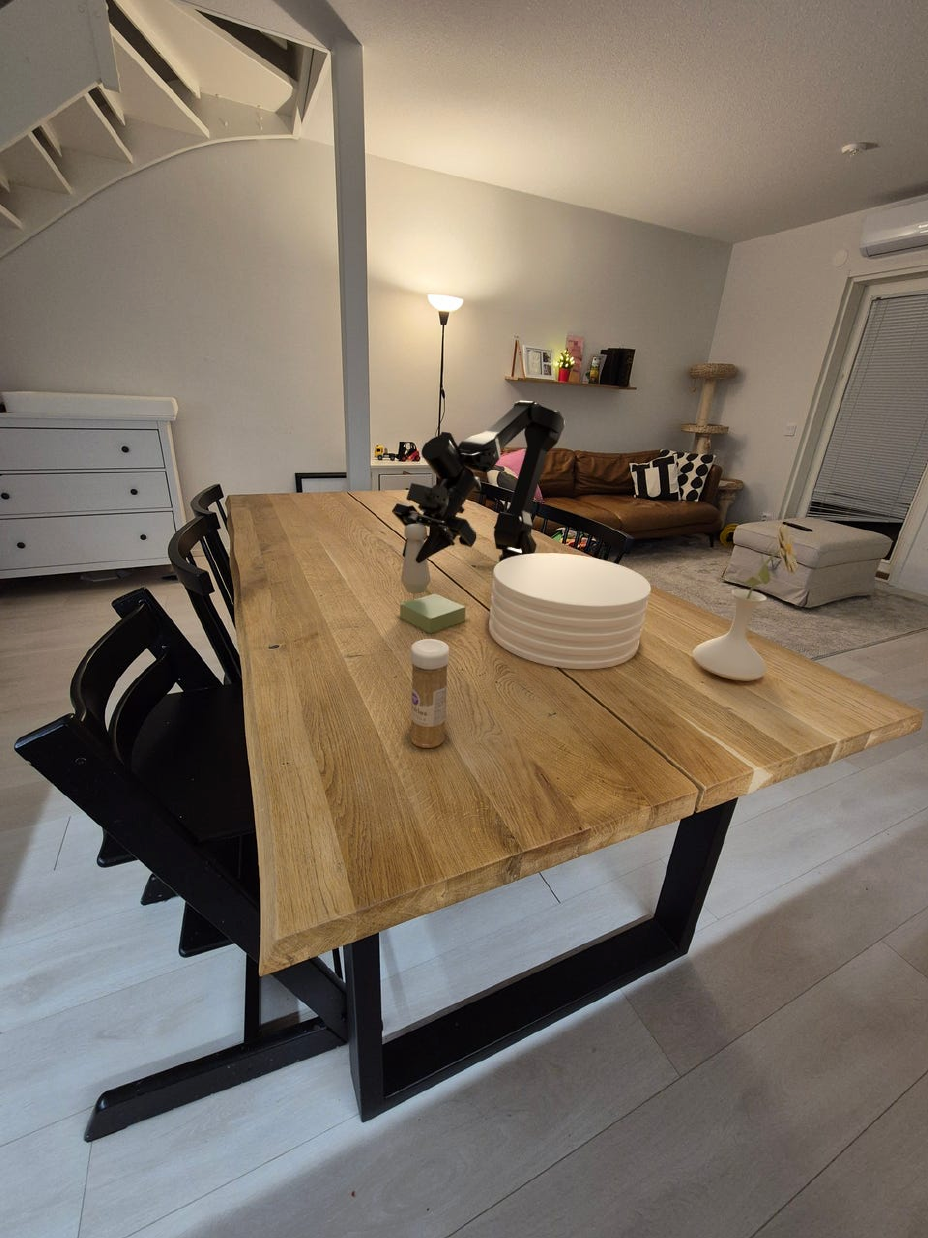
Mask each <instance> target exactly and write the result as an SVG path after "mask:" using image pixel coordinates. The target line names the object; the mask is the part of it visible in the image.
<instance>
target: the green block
mask: <svg viewBox="0 0 928 1238" xmlns="http://www.w3.org/2000/svg"><path fill="white" fill-rule="evenodd" d="M466 608H467V607H466V606H465V605H462V604H460V603H457V602H455V601H453V600H450V599H449V598H446V597H444V596H442V595H440V594H437V593H432V594H429V595H425V596H422V597H418V598H415V599H411V600H408V601H405V602H401V603H400V604H399V618H400V619H402V620H403V621H406V622H408V623H410V624H411V625H412V626H415V627H417V628H419V629H421V630H422V631H425V632H426V633H428V634H432V633H435V632H438V631H441V630H444V629H447V628H449V627H452V626H455V625H458V624H460V623H463V622H465V621H466Z"/></svg>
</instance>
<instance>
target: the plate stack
mask: <svg viewBox="0 0 928 1238" xmlns="http://www.w3.org/2000/svg"><path fill="white" fill-rule="evenodd" d="M492 580H493V581H492V584H491V597H490V609H489V621H488V630H489V634H490V636H491V637H492V639H493V640H494V641H495V643H497V644H498V645H499V646H500V647H502V648H503V649H504V650H506V651H508V652H509V653H510V654H513V655H515V656H516V657H520V658H522V659H525V660H527V661H530V662H532V663H533V662H534V663H536V664H539V665H544V666H548V667H554V668H560V669H570V670H598V669H599V670H600V669H606V668H610V667H615V666H618V665H622V664H623V663H626V662H627V661H629V660H631V659H632V658H633V657H634V656H635V655H636V654H637V653H638V649H639V645H640V639H641V636H642V631H643V625H644V623H645V618H646V612H647V609H648V604H649V598H650V595H651V589H652V588H651V584H650V582H649V581H648V580H647V579H646V578H645V577H644V576H643V575H641V574H639V573H638V572H637V571H635V570H632V569H631V568H628V567H626V566H623V565H621V564H618V563H615V562H612V561H608V560H605V559H599V558H596V557H591V556H584V555H579V554H569V553H557V552H556V553H555V552H540V553H539V552H538V553H537V552H535V553H533V554H524V555H518V556H514V557H510V558H507V559H504V560H502V561H500V562H499V561H498V563H496V565H495V566H494V567H493V571H492Z"/></svg>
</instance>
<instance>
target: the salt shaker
mask: <svg viewBox="0 0 928 1238" xmlns="http://www.w3.org/2000/svg"><path fill="white" fill-rule="evenodd" d="M427 535H428V528H427V526H424V525H420V524H410V525H407V526H406V527H405V526H404V537H405V539H406V538H407V545H406V551H405V557H403V563H402V570H401V576H400V580H401V583H402V585H403V587H404V589H405V591H406V592H407V593H410V594H415V595H416V594H417V595H418V594H422V593H425V591H426V589H427V587H428V586H429V584H430V583H431V574H430V573H431V572H430V567H429V560H428V558H427V559H426V560H424V561H422V562H421V563H418V562H416V560H415V559H416V557H417V555H418V553H419V551H420V549H421V548H422V546H423V544H424V543H425V541H424V539H425V538H426V537H427ZM427 538H428V537H427Z"/></svg>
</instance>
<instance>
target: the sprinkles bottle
mask: <svg viewBox="0 0 928 1238" xmlns="http://www.w3.org/2000/svg"><path fill="white" fill-rule="evenodd" d="M449 661H450V647H449V645H448V644H447V643H445V642H444V641H443V640H439V639H435V638H424V639H419V640H417V641H415V642H413V644H412V645H411V647H410V662H411V665H412V666H411V668H412V669H411V677H412V678H411V690H410V691H411V694H410V696H411V697H410V719H411V721H410V732H409V733H410V734H409V738H410V741H411V742H412V744H413V745H415V746H417V747H419V748H423V749H431V748H432V749H433V748H436V747H438V746H440V745H441V744H442V743H443V742H444V741H445V738H446V736H445V735H446V734H445V722H446V720H445V719H446V711H447V693H448V692H447V690H448V682H447V681H448V680H447V678H448V665H449Z"/></svg>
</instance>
